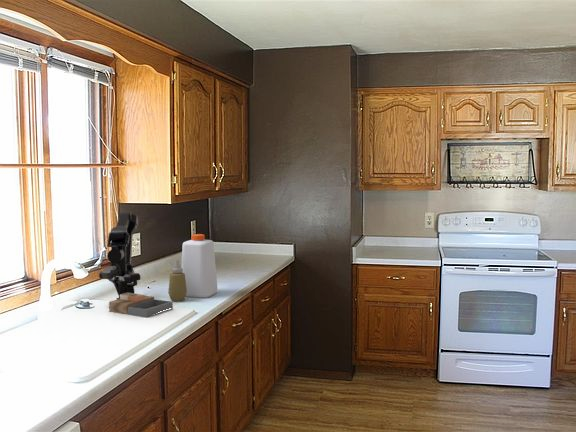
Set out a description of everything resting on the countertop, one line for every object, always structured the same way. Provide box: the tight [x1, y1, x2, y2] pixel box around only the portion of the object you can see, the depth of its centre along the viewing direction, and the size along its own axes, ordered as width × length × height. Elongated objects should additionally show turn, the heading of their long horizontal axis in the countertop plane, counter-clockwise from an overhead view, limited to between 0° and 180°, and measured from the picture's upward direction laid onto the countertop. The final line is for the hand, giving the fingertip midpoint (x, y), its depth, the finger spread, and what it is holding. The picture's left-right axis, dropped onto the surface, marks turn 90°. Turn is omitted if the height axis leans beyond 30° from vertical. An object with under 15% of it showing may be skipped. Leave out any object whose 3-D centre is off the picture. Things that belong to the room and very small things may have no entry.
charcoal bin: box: [127, 298, 174, 318], centre depth 242 cm, size 10×16×3 cm, turn 151°
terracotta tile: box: [129, 293, 145, 302], centre depth 245 cm, size 4×4×2 cm
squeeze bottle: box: [168, 259, 187, 303], centre depth 261 cm, size 8×8×18 cm
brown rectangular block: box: [108, 294, 155, 315], centre depth 246 cm, size 10×16×4 cm, turn 151°
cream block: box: [120, 292, 137, 300], centre depth 247 cm, size 4×4×2 cm
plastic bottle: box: [180, 233, 218, 299], centre depth 272 cm, size 15×15×28 cm
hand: (120, 295), depth 249 cm, fingers closed
